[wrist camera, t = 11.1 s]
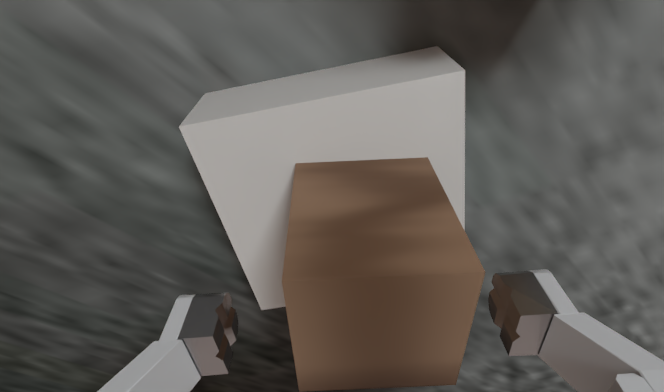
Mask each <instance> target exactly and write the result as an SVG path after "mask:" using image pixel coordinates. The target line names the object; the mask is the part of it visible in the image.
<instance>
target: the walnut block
mask: <svg viewBox="0 0 664 392" xmlns="http://www.w3.org/2000/svg"><path fill="white" fill-rule="evenodd" d="M484 276H485V271H484V269H483V267H482V265H481V263H480V261H479V259H478V257H477V255H476V253H475V251H474V249H473V247H472V245H471V243H470V241H469V239H468V237H467V235H466V233H465V231H464V229H463V227H462V225H461V223H460V221H459V219H458V217H457V215H456V213H455V211H454V209H453V207H452V205H451V203H450V201H449V199H448V197H447V195H446V193H445V191H444V189H443V187H442V185H441V183H440V181H439V179H438V177H437V175H436V173H435V171H434V169H433V167H432V165H431V163H430V161H429V159H428V157H424V158H402V159H379V160H357V161H335V162H312V163H296V164H295V172H294V181H293V189H292V198H291V206H290V215H289V223H288V232H287V240H286V249H285V257H284V266H283V274H282V287H283V293H284V299H285V305H286V312H287V318H288V324H289V331H290V337H291V343H292V349H293V356H294V362H295V368H296V375H297V381H298V387H299V392H302V391H324V390H347V389H370V388H393V387H415V386H438V385H456V382H457V378H458V374H459V370H460V367H461V363H462V359H463V355H464V351H465V348H466V344H467V340H468V336H469V332H470V329H471V325H472V321H473V317H474V313H475V310H476V306H477V302H478V298H479V294H480V291H481V287H482V283H483V279H484Z"/></svg>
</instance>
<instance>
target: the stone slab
mask: <svg viewBox="0 0 664 392" xmlns="http://www.w3.org/2000/svg"><path fill="white" fill-rule="evenodd" d="M179 128H180V130H181V133H182V135H183V137H184V139H185V141H186V144H187V146H188V148H189V150H190V153H191V155H192V157H193V159H194V161H195V164H196V166H197V168H198V170H199V172H200V175H201V177H202V179H203V181H204V184H205V186H206V188H207V190H208V192H209V195H210V197H211V199H212V201H213V204H214V206H215V208H216V210H217V212H218V215H219V217H220V219H221V221H222V223H223V226H224V228H225V230H226V232H227V235H228V237H229V239H230V241H231V243H232V246H233V248H234V250H235V252H236V255H237V257H238V259H239V261H240V263H241V266H242V268H243V270H244V272H245V274H246V277H247V279H248V281H249V283H250V286H251V288H252V290H253V292H254V294H255V297H256V299H257V301H258V303H259V306H260V308H261V310H266V309H273V308H279V307H286V305H285V299H284V293H283V287H282V274H283V266H284V257H285V249H286V240H287V232H288V223H289V215H290V206H291V198H292V189H293V181H294V172H295V164H296V163H312V162H335V161H357V160H379V159H402V158H424V157H428V159H429V161H430V163H431V165H432V167H433V169H434V171H435V173H436V175H437V177H438V179H439V181H440V183H441V185H442V187H443V189H444V191H445V193H446V195H447V197H448V199H449V201H450V203H451V205H452V207H453V209H454V211H455V213H456V215H457V217H458V219H459V221H460V223H461V225H462V227H463V229H464V231H465V70H464V69H463V68H462V67H461V66H460V65H459V64H457V63H456V62H455V61H454V60H453V59H452V58H450V57H449V56H448V55H447V54H446V53H445V52H444V51H442V50H441V49H440V48H439V47H438V46H436V47H431V48H426V49H421V50H416V51H411V52H406V53H401V54H396V55H391V56H387V57H382V58H377V59H372V60H367V61H362V62H357V63H352V64H347V65H342V66H338V67H333V68H328V69H323V70H318V71H313V72H308V73H303V74H298V75H293V76H289V77H284V78H279V79H274V80H269V81H264V82H259V83H254V84H249V85H244V86H240V87H235V88H230V89H225V90H220V91H215V92H210V93H205V94H204V95H203V97H202V98H201V99H200V100H199V102H198V103H197V104H196V106H195V107H194V108H193V109H192V111H191V112H190V113H189V114H188V116H187V117H186V118H185V120H184V121H183V122H182V123H181V125H180V126H179Z"/></svg>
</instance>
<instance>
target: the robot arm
mask: <svg viewBox="0 0 664 392" xmlns="http://www.w3.org/2000/svg"><path fill="white" fill-rule="evenodd" d="M492 284H493V286H494V289H493V290H492V291H490V292H489V298H488V303H489V311H490V314H491V317H492V319H493V322H494V323H495V324H496V325H497V326H499V327H500V328H501V333H500V338H501V340H502V342H503V344H504V347H505V349H506V351H507V353H508V355H509V356H520V355H539V357H540V358H541V359H542V360H543V361H544V362H545V363H546V364H547V365H549V366H550V367H551V368H552V369H553V370H554V371H555V372H556V373H558V374H559V375H560V376H561V377H562V378H563V379H564V380H565V381H567V382H568V383H569V384H570V385H571V386H572V387H573V388H574V389H575V390H577V391H578V392H664V361H663V360H661V359H659V358H658V357H656V356H654V355H653V354H651V353H650V352H648V351H646V350H645V349H643V348H641V347H640V346H638V345H636V344H635V343H633V342H632V341H630V340H628V339H627V338H625V337H623V336H622V335H620V334H618V333H617V332H615V331H613V330H612V329H610V328H609V327H607V326H605V325H604V324H602V323H600V322H599V321H597V320H595V319H594V318H592V317H591V316H589V315H587V314H586V313H579V312H578V311H577V309H576V308H575V307H574V305H573V304H572V302H571V301H570V299H569V298H568V296H567V295H566V294H565V292H564V291H563V289H562V288H561V286H560V285H559V284H558V282H557V281H556V279H555V278H554V276H553V275H552V273H551V272H550V271H548V270H547V269H544V270H531V271H517V272H505V273H495V275H494V276H493V279H492ZM231 303H232V299H231V296H230V294H229V293H211V294H194V295H180V296H179V297H178V298H177V299H176V301H175V303H174V306H173V308H172V310H171V313H170V315H169V318H168V320H167V322H166V325H165V327H164V329H163V332H162V334H161V337H160V339H159V341H154V342H153V343H151V344H150V345H149V346H148V347H147V348H146V349H145V350H144V351H142V352H141V353H140V354H139V355H138V356H137V357H136V358H135V359H133V360H132V361H131V362H130V363H129V364H128V365H127V366H126V367H124V368H123V369H122V370H121V371H120V372H119V373H118V374H117V375H115V376H114V377H113V378H112V379H111V380H110V381H109V382H108V383H106V384H105V385H104V386H103V387H102V388H101V389H100V390H99V391H97V392H190V391H191V390H192V389H193V387H194V386H195V385H196V384H197V382H198V381H199V380H200V379H201V377H200V376H208V375H219V374H229V370H230V365H231V361H232V357H233V351H232V349H231V345H232V344H233V343H234V342H235V341H236V339H237V334H238V317H237V313H236V310H235V309H233V308H232V307H231Z"/></svg>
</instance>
